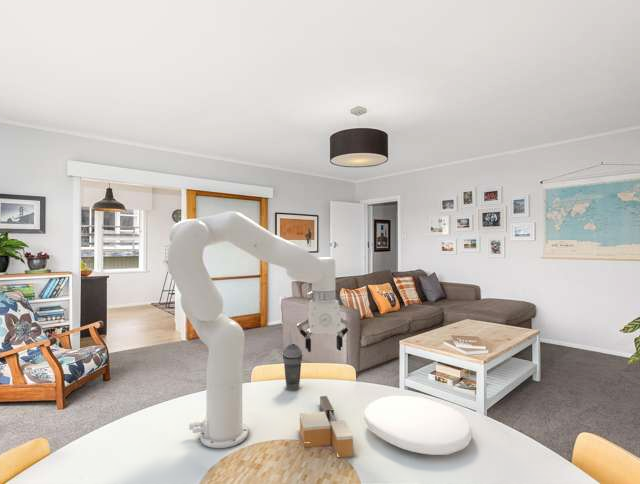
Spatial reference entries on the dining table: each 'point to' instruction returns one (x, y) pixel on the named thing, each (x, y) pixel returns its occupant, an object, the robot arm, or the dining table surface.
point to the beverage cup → (292, 365)
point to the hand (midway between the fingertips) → (323, 350)
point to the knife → (327, 408)
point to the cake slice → (341, 438)
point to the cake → (315, 429)
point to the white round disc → (418, 425)
